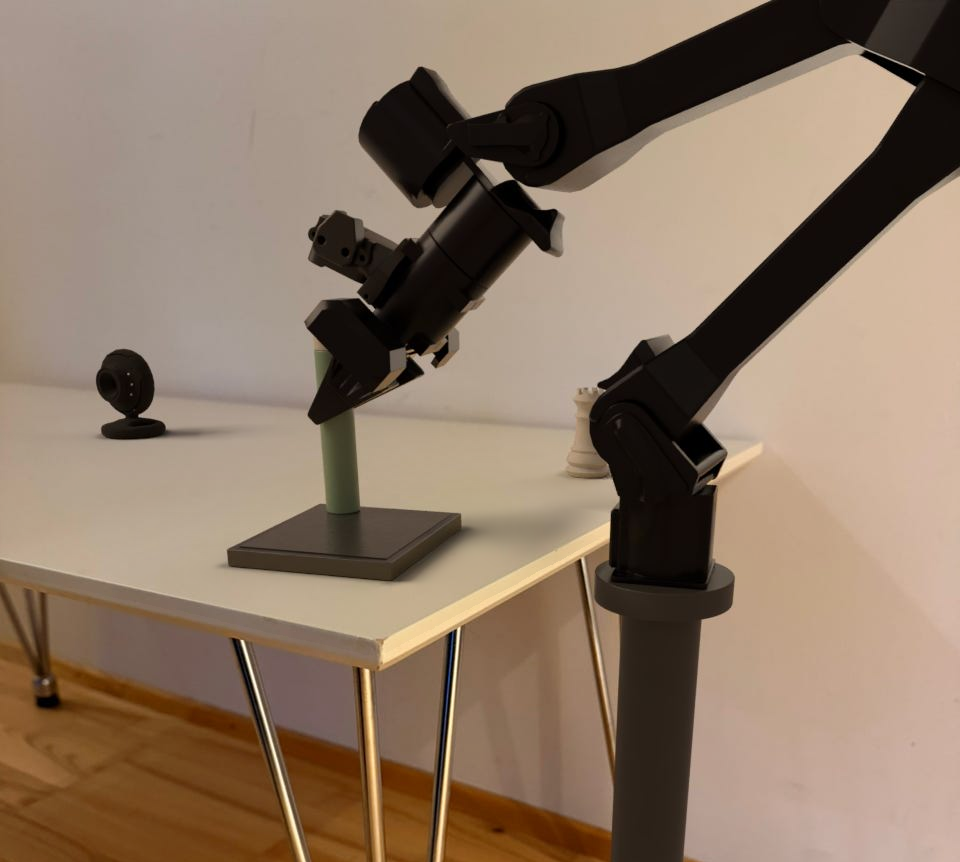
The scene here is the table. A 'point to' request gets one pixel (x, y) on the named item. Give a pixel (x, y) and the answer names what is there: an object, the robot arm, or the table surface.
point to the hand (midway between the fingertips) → (319, 417)
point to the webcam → (128, 395)
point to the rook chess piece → (585, 440)
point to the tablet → (347, 542)
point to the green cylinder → (338, 450)
